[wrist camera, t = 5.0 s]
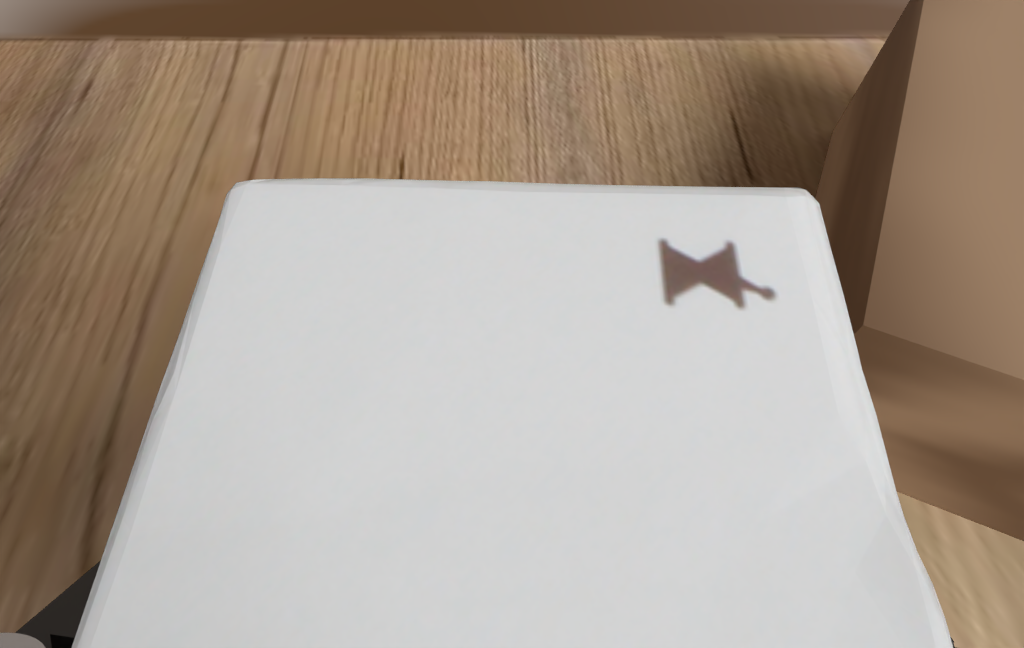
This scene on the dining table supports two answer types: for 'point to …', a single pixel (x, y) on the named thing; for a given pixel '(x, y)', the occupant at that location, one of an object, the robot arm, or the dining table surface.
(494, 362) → the skincare box
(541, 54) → the dining table surface
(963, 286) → the walnut block
